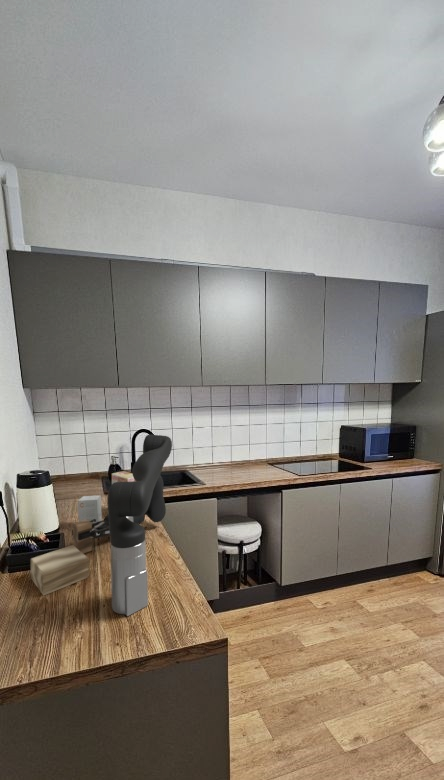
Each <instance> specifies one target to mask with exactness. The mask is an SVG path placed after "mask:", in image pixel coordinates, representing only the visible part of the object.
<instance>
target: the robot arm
mask: <svg viewBox="0 0 444 780" xmlns="http://www.w3.org/2000/svg"><path fill="white" fill-rule="evenodd" d="M172 450H173V441H172V439H171V437H169V436H167V435H162V434H159V435H158V434H146V436H145V437H144V439H143V445H142V453H141V455H139V457H138V458H137V460H136V461H135V462H134V464H133V466H132V470H131V471H132V472H131V473H132V474H133V477H134V479H135V481H132V482H115V483H113V484H112V483H111V485H110V487H109V489H108V491H107V513H108V514H106V515H105V516H104V518H103V520H102V521H101V520H99V521H97V522H96V519H93V520H91V521H89V522H91V523H92V529H91V530H89V531H86V532H83V533H79V534H78V540H82V539H85V538H88V537H89V538H92V540H93V539H95V540H96V539H100V538H103V537H107V536H109V538H110V581H111V582H110V585H111V586H110V587H111V588H110V591H111V609H112V611H113V612H114V613H117V614H118V615H125V616H126V617H129V616H131V615H132V614H134V613H136V612H138V611H140V610H143V609H144V608H146V607H147V606H149V595H148V593H149V591H148V587H149V585H148V570H147V566H146V565H147V564H146V563H147V560H146V557H147V553H146V552H147V551H146V549H147V548H146V529H145V527H144V526H143V525H142V524H143V523H144V522H145V518H146V516H147V517H148V518H149V519H150V520H151V521H152V522H153V523H160V522H161V521H163V520H164V519H165V516H166V511H167V508H166V504H165V503H166V502H165V498H164V480H163V476H162V475H161V473H162V470H163V467H164V465H165V463H166V462H167V460H168V459H169V457H170V455H171V453H172ZM71 535H72V536H73V529H71Z"/></svg>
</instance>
